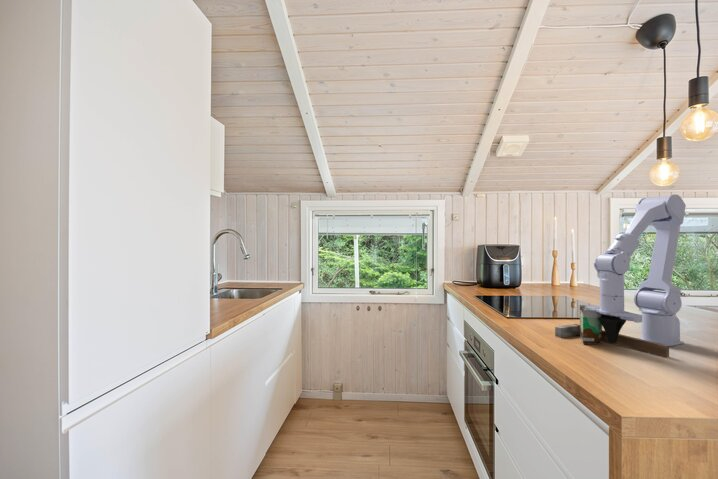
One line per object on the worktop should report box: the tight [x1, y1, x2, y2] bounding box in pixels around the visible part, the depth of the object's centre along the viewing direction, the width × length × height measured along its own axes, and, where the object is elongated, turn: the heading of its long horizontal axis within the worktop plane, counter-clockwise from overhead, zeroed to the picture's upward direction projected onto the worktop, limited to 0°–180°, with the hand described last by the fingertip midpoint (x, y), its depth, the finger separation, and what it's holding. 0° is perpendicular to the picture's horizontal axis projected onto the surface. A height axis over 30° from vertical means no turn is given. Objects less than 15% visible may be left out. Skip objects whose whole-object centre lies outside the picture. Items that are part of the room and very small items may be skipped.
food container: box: [579, 304, 603, 345], centre depth 105 cm, size 12×6×10 cm, turn 152°
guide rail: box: [554, 323, 670, 359], centre depth 101 cm, size 10×26×3 cm, turn 21°
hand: (612, 342), depth 99 cm, fingers closed
